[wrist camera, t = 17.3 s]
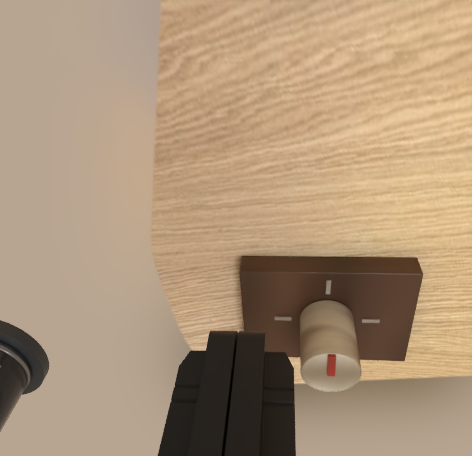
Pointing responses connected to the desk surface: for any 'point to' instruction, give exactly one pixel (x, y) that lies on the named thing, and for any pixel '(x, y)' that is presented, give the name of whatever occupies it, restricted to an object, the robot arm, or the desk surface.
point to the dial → (329, 347)
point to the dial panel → (332, 299)
